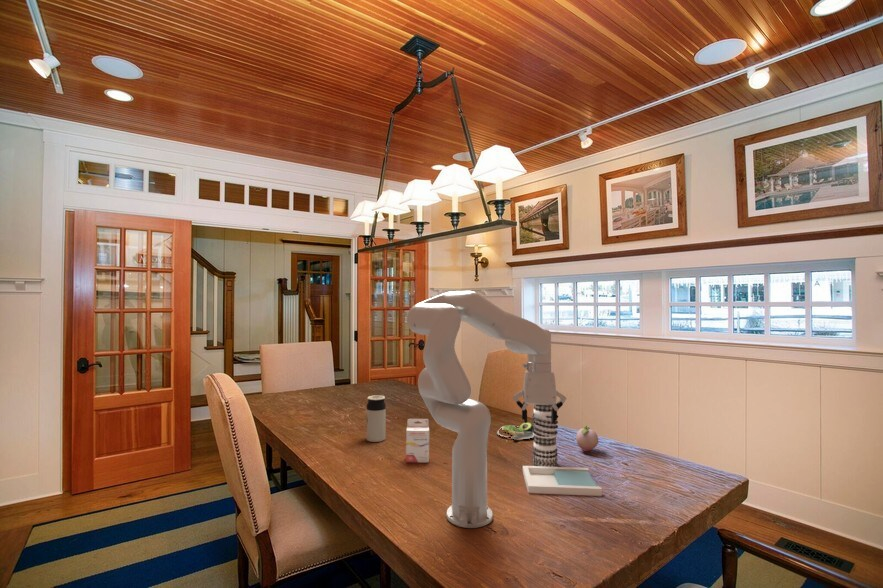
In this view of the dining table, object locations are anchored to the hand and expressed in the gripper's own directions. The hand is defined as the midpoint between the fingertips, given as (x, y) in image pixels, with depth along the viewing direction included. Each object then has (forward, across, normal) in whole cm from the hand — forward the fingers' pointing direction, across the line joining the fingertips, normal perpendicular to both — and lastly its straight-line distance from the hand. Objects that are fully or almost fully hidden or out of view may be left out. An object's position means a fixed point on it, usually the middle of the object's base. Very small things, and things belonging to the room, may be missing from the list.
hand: (539, 421), depth 136 cm
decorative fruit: (+20, +23, +33) cm, 45 cm away
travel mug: (+20, -63, +40) cm, 77 cm away
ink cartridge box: (+20, -42, +18) cm, 50 cm away
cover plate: (+19, +11, 0) cm, 22 cm away
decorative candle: (+20, +4, +15) cm, 25 cm away
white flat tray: (+20, +7, 0) cm, 21 cm away
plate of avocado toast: (+21, -2, +53) cm, 57 cm away
